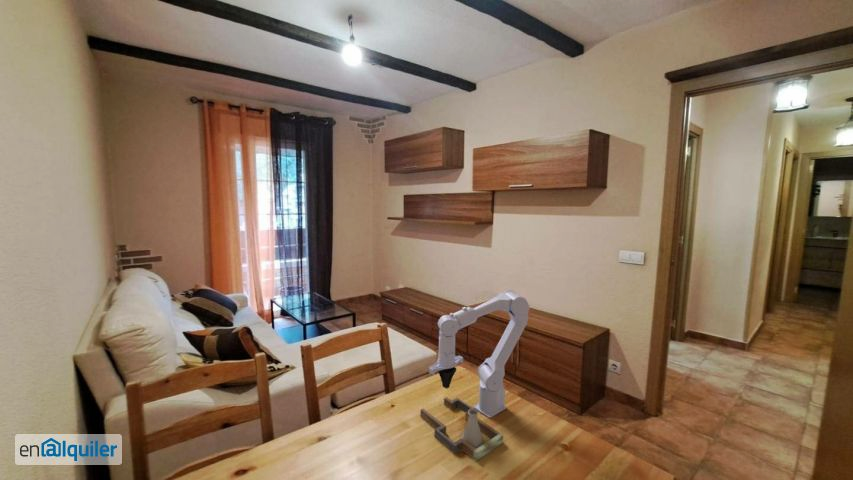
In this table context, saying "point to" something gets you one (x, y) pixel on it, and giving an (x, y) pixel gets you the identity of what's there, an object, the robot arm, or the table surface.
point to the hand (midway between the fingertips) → (445, 386)
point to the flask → (472, 430)
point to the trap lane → (461, 443)
